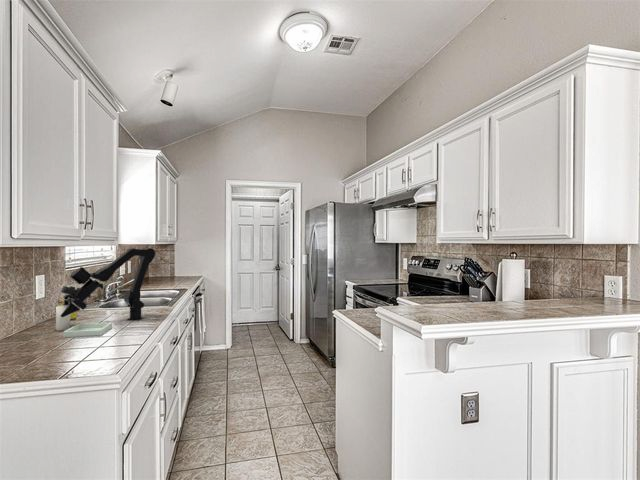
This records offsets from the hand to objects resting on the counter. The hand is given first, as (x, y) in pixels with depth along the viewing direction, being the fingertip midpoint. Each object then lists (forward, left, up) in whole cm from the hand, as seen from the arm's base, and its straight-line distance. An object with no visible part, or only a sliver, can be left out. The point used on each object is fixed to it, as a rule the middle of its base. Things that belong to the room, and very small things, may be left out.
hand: (59, 315), depth 171 cm
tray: (+7, +15, -7) cm, 18 cm away
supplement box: (-22, -6, -7) cm, 24 cm away
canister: (-1, +1, -7) cm, 7 cm away
